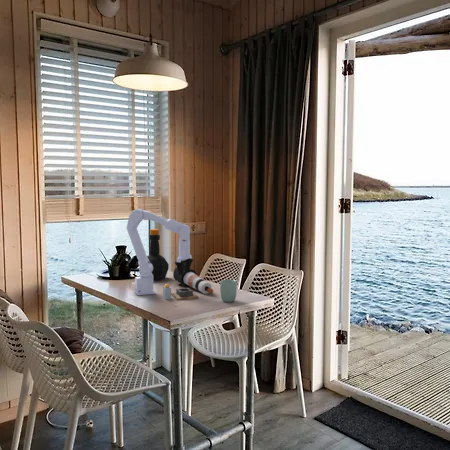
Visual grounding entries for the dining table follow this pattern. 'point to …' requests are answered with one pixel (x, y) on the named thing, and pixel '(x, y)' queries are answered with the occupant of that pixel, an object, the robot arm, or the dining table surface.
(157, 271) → the bottle
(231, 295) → the cup
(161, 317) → the dining table surface
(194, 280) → the cable
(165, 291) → the connector
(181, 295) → the holder
